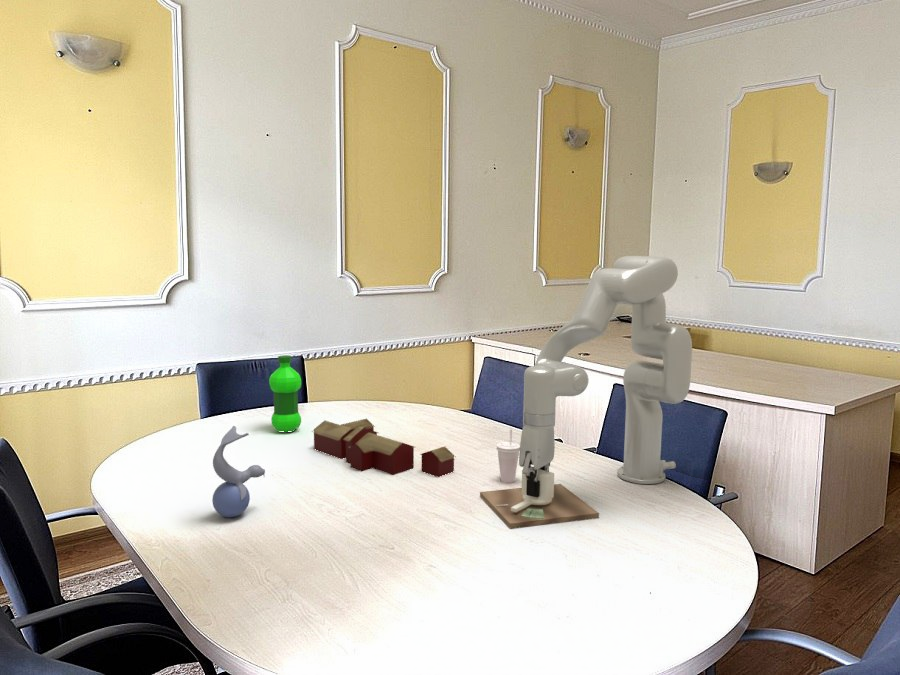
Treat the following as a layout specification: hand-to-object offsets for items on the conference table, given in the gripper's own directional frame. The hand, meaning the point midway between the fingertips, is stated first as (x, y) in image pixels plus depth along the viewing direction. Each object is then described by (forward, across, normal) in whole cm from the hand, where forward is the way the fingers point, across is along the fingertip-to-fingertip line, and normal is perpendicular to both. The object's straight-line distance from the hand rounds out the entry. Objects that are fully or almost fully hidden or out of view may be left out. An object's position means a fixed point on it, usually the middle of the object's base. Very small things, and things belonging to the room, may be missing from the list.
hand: (537, 492), depth 166 cm
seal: (+4, +43, -54) cm, 70 cm away
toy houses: (+4, -6, -52) cm, 53 cm away
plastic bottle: (+4, -11, -98) cm, 98 cm away
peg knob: (+2, +3, 0) cm, 4 cm away
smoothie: (+4, -12, -15) cm, 19 cm away
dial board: (+4, 0, 0) cm, 4 cm away
